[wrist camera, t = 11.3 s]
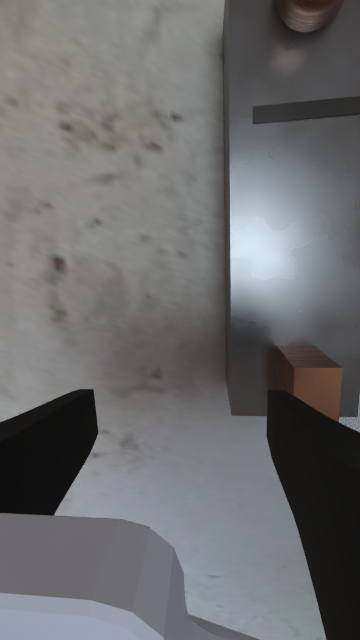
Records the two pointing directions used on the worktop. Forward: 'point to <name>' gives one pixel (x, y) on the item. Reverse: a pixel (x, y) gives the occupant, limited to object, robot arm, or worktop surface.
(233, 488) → the worktop surface
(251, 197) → the hand plane
